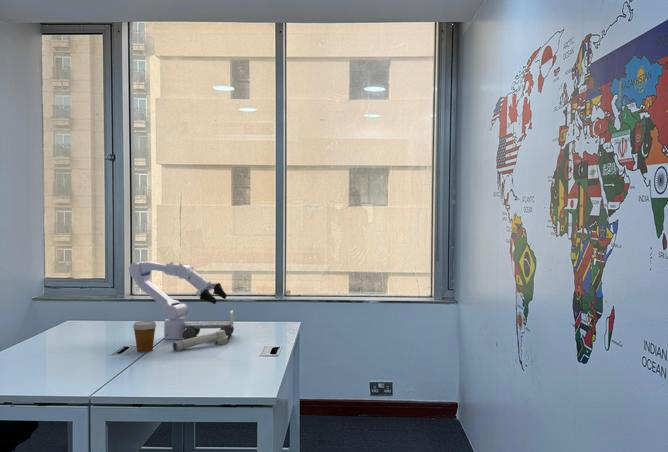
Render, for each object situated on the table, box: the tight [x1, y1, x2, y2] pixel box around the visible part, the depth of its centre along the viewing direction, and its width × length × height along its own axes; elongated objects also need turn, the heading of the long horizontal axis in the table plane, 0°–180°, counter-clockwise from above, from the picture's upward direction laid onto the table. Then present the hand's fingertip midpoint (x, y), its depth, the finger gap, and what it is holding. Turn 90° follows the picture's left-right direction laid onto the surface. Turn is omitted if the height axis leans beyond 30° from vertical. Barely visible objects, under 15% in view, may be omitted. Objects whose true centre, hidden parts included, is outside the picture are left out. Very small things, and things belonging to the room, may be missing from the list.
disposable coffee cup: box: [132, 320, 157, 353], centre depth 242 cm, size 10×10×12 cm
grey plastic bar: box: [172, 329, 229, 352], centre depth 250 cm, size 5×7×25 cm
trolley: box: [182, 310, 235, 341], centre depth 266 cm, size 22×13×12 cm, turn 95°
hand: (220, 299), depth 260 cm, fingers open, 7 cm apart
